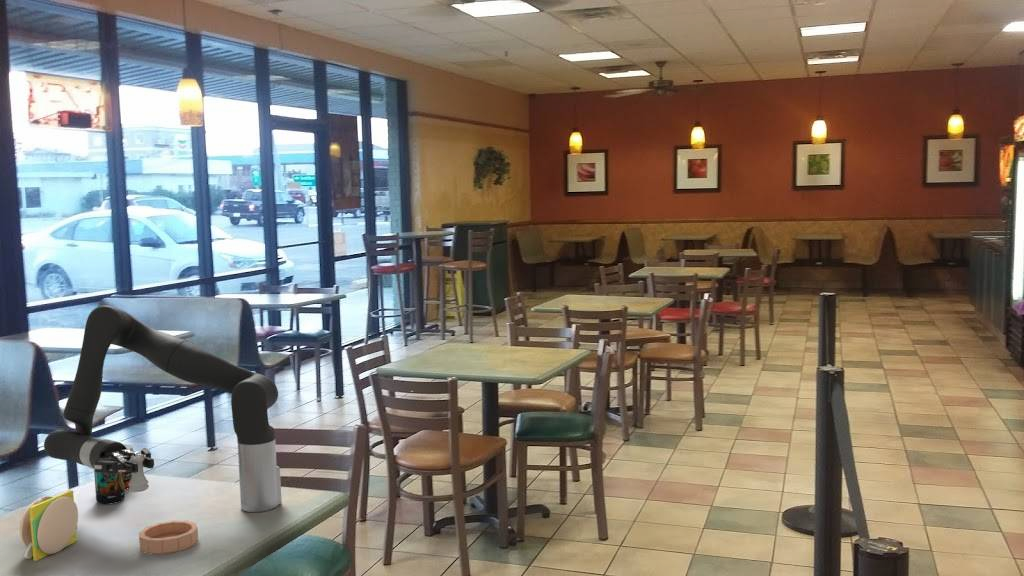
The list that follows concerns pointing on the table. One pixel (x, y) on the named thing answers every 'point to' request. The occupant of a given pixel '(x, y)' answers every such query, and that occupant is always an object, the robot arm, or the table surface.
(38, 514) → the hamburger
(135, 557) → the table surface
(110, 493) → the beverage can
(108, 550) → the table surface
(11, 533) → the table surface
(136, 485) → the rook chess piece
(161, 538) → the dish
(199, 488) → the table surface
